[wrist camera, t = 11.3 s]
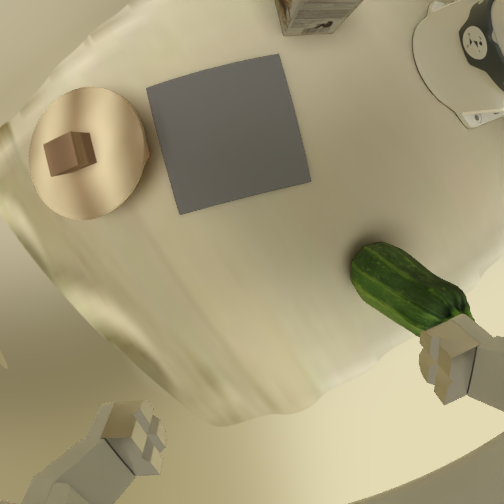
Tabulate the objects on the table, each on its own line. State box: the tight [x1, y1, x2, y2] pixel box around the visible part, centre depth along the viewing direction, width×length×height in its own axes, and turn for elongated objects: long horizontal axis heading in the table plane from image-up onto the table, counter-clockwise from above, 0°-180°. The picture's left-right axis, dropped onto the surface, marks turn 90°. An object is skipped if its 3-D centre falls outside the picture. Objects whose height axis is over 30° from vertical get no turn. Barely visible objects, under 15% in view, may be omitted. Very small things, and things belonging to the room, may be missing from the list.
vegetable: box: [351, 242, 475, 337], centre depth 29 cm, size 7×7×20 cm
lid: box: [29, 87, 147, 220], centre depth 25 cm, size 13×13×5 cm
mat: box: [146, 54, 311, 215], centre depth 33 cm, size 15×15×1 cm
